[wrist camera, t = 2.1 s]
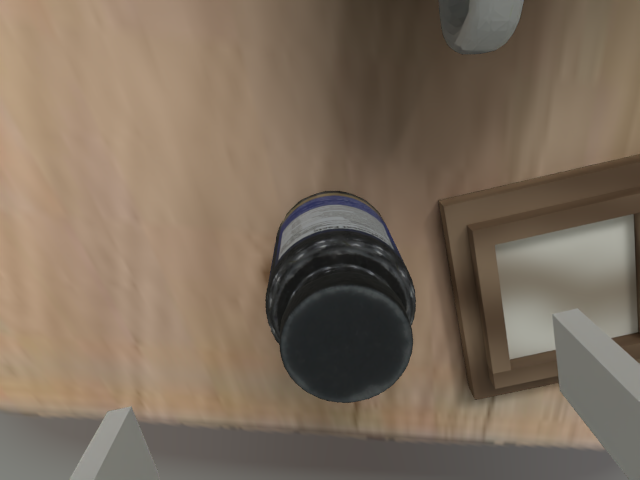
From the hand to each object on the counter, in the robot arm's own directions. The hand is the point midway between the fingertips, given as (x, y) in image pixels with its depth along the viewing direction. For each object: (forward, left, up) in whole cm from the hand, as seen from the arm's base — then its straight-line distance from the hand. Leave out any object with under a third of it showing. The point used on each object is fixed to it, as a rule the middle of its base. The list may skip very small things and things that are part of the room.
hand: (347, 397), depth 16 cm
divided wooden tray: (+5, +16, -13) cm, 21 cm away
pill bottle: (0, 0, -14) cm, 14 cm away
